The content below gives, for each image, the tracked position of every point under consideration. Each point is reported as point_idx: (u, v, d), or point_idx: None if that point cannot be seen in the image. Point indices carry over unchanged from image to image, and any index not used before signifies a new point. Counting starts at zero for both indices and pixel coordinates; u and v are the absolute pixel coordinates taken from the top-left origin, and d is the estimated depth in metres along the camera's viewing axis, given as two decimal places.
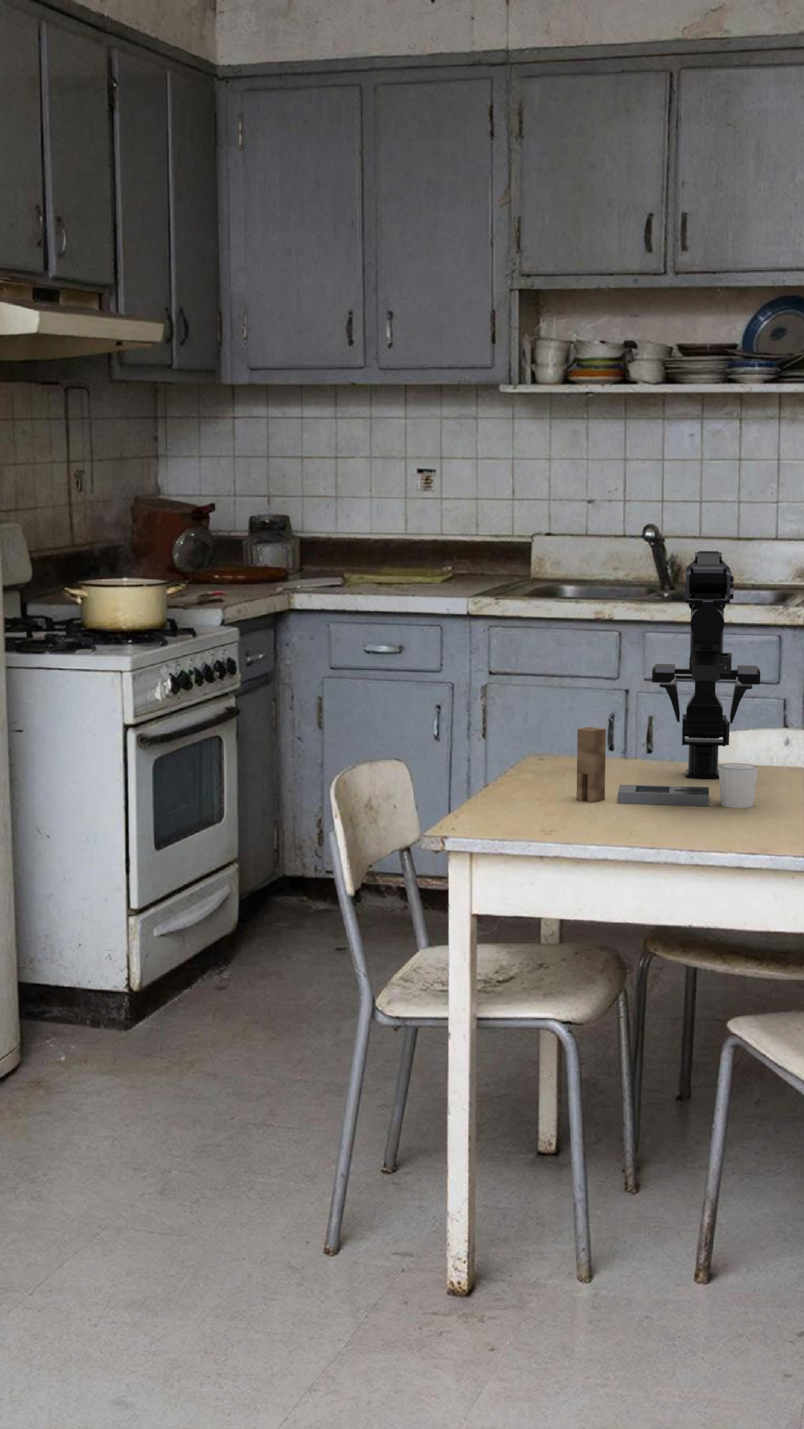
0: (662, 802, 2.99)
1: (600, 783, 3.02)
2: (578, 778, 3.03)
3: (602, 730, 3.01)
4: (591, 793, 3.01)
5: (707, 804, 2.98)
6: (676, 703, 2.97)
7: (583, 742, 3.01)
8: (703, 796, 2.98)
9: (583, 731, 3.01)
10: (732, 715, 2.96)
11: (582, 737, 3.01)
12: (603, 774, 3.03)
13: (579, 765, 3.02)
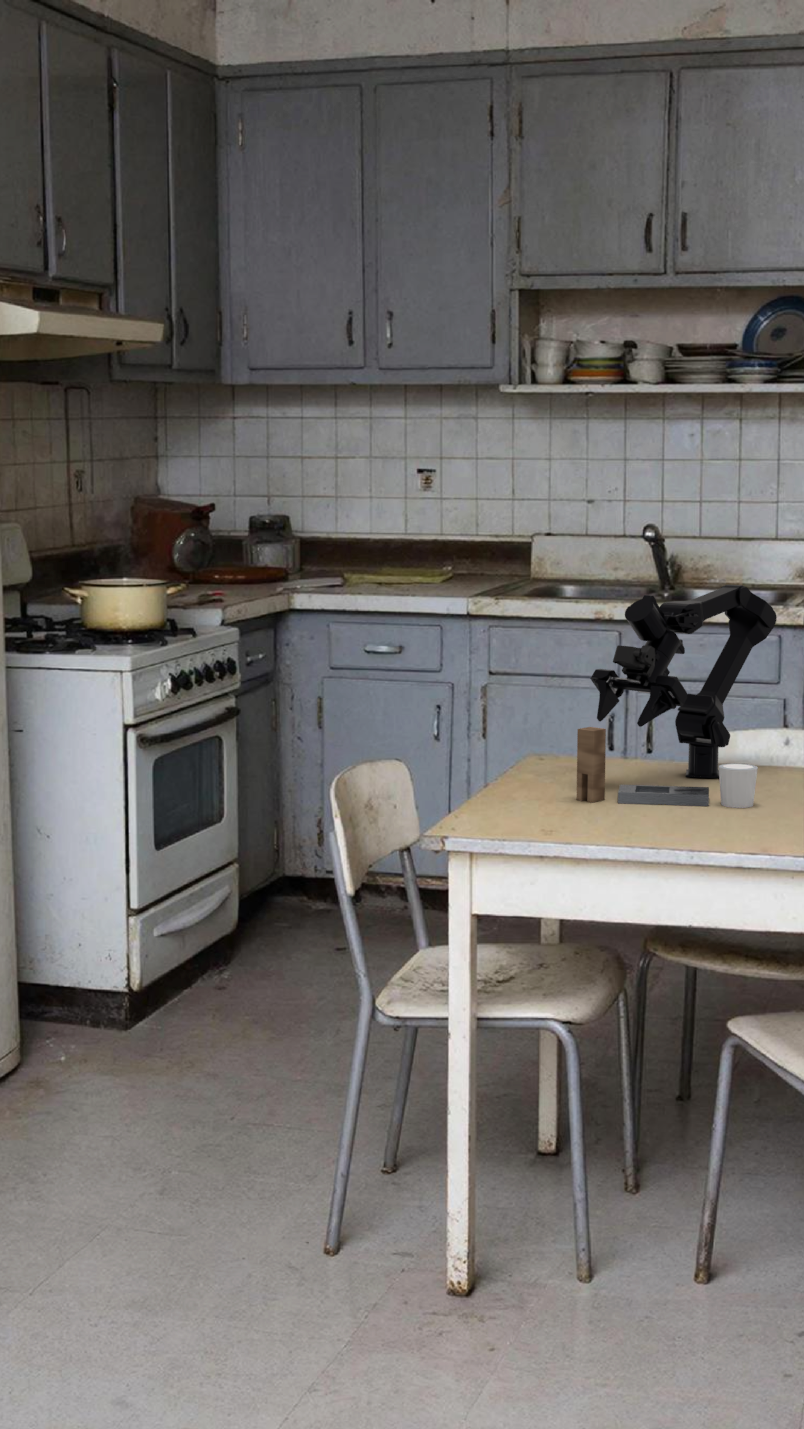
0: (662, 802, 2.99)
1: (600, 783, 3.02)
2: (578, 778, 3.03)
3: (602, 730, 3.01)
4: (591, 793, 3.01)
5: (707, 804, 2.98)
6: (602, 701, 3.11)
7: (583, 742, 3.01)
8: (703, 796, 2.98)
9: (583, 731, 3.01)
10: (641, 716, 3.04)
11: (582, 737, 3.01)
12: (603, 774, 3.03)
13: (579, 765, 3.02)
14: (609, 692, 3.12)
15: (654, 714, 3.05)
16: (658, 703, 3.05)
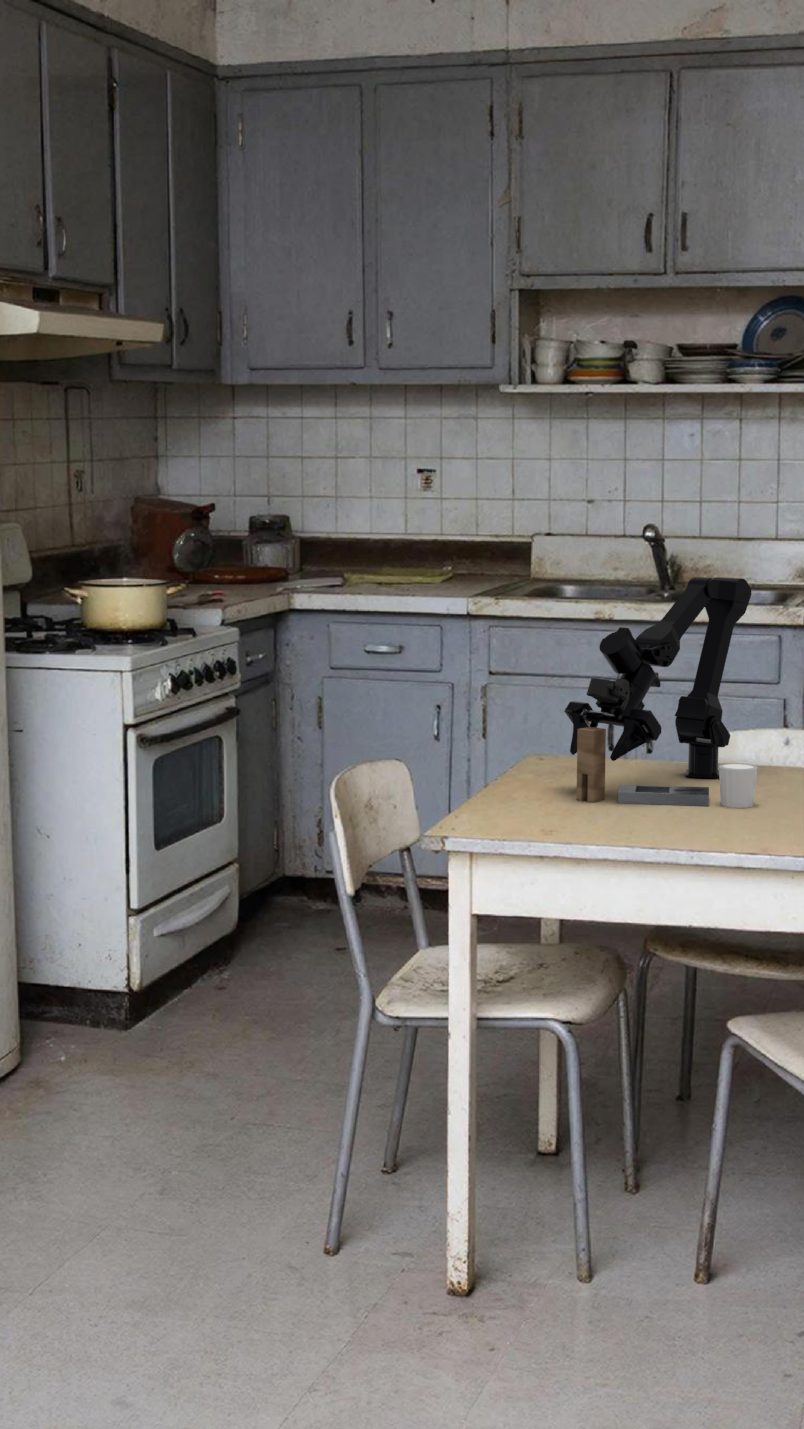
0: (662, 802, 2.99)
1: (600, 783, 3.02)
2: (578, 778, 3.03)
3: (602, 730, 3.01)
4: (591, 793, 3.01)
5: (707, 804, 2.98)
6: (575, 734, 3.07)
7: (583, 742, 3.01)
8: (703, 796, 2.98)
9: (583, 731, 3.01)
10: (614, 750, 2.99)
11: (582, 737, 3.01)
12: (603, 774, 3.03)
13: (579, 765, 3.02)
14: (583, 725, 3.08)
15: (627, 748, 3.00)
16: (632, 737, 3.01)
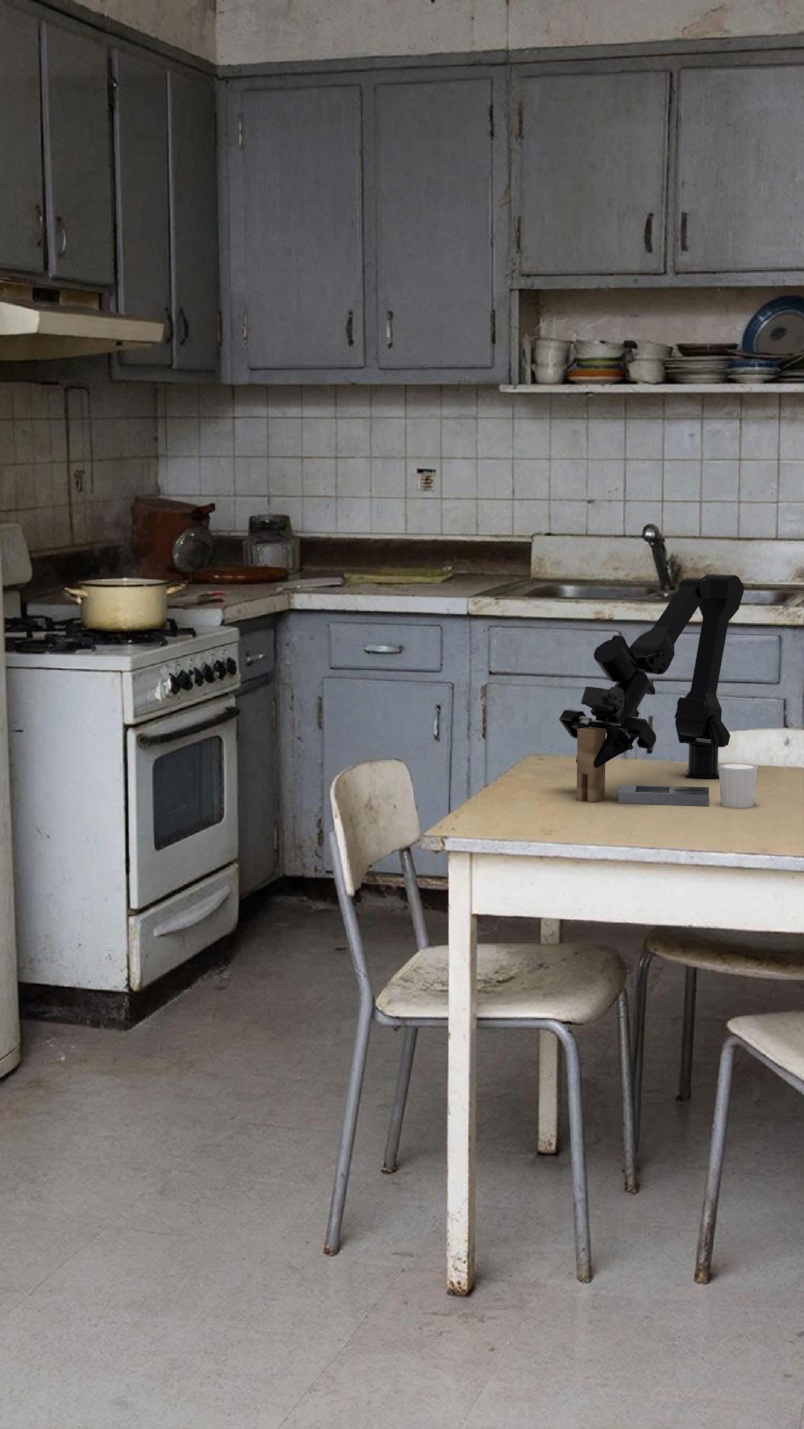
0: (662, 802, 2.99)
1: (600, 783, 3.02)
2: (578, 777, 3.03)
3: (602, 730, 3.01)
4: (591, 793, 3.01)
5: (707, 804, 2.98)
6: None
7: (583, 742, 3.01)
8: (703, 796, 2.98)
9: (583, 731, 3.01)
10: (597, 757, 3.00)
11: (582, 737, 3.01)
12: (603, 774, 3.03)
13: (579, 765, 3.02)
14: None
15: (611, 755, 3.01)
16: (615, 744, 3.02)
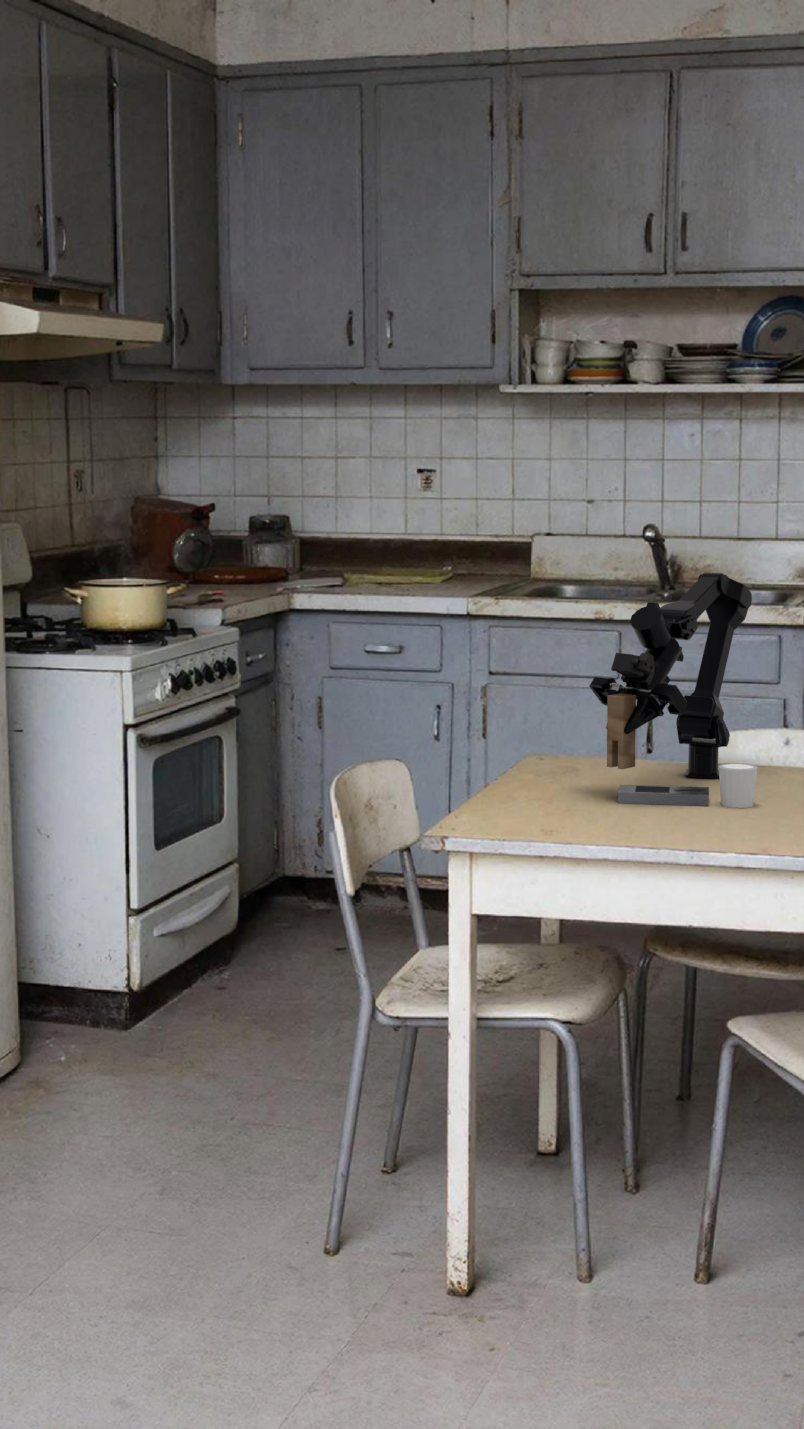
0: (662, 802, 2.99)
1: (630, 750, 3.01)
2: (609, 744, 3.02)
3: (632, 696, 3.00)
4: (621, 760, 3.00)
5: (707, 804, 2.98)
6: None
7: (613, 708, 3.00)
8: (703, 796, 2.98)
9: (613, 697, 3.00)
10: (627, 723, 3.00)
11: (612, 704, 3.00)
12: (633, 741, 3.02)
13: (609, 732, 3.02)
14: None
15: (641, 722, 3.01)
16: (646, 711, 3.01)
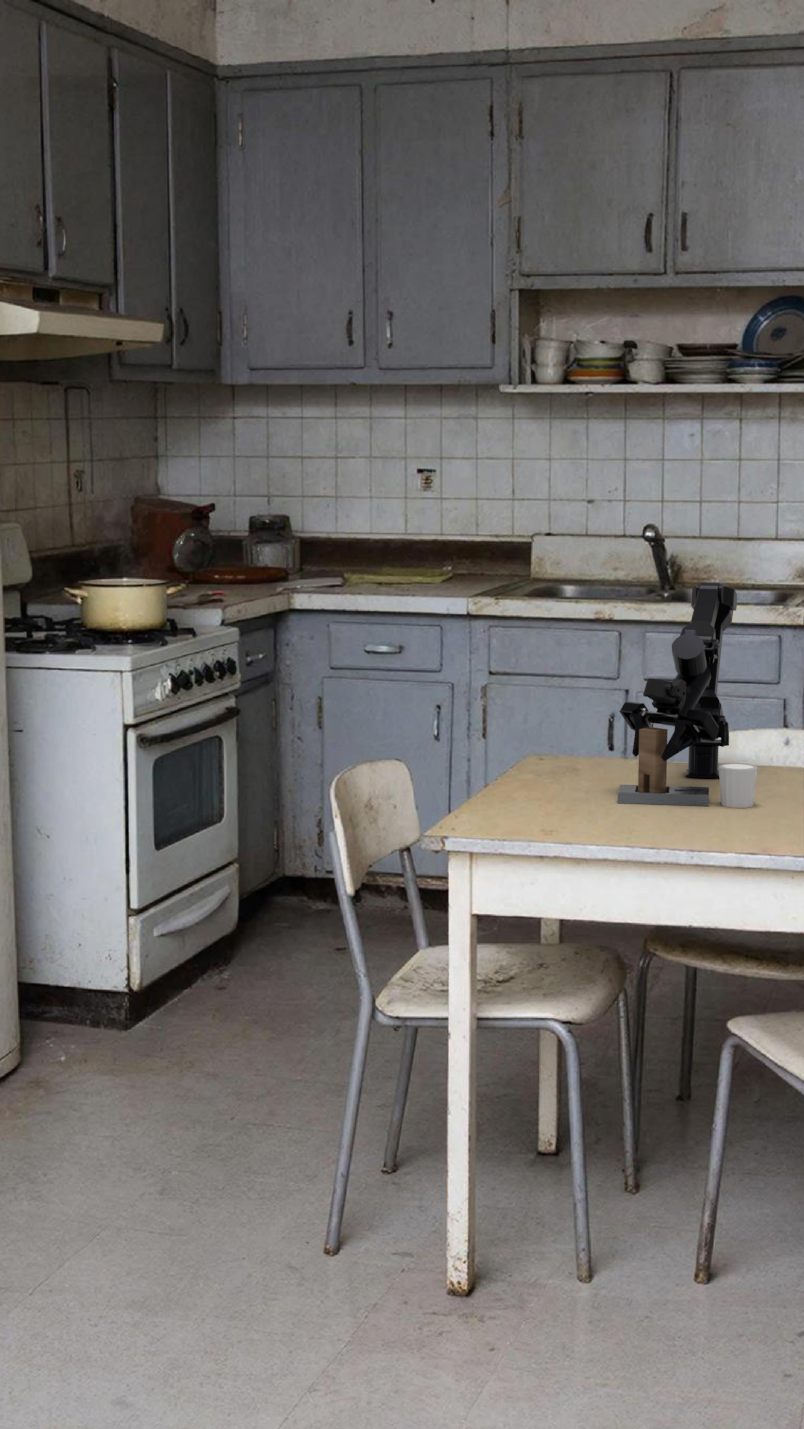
0: (662, 802, 2.99)
1: (662, 783, 3.02)
2: (640, 778, 3.02)
3: (664, 730, 3.01)
4: None
5: (707, 804, 2.98)
6: (638, 735, 3.04)
7: (644, 742, 3.01)
8: (703, 796, 2.98)
9: (645, 731, 3.00)
10: (665, 750, 2.99)
11: (644, 737, 3.01)
12: (665, 774, 3.02)
13: (641, 765, 3.02)
14: (645, 726, 3.06)
15: (679, 748, 3.00)
16: (683, 737, 3.00)
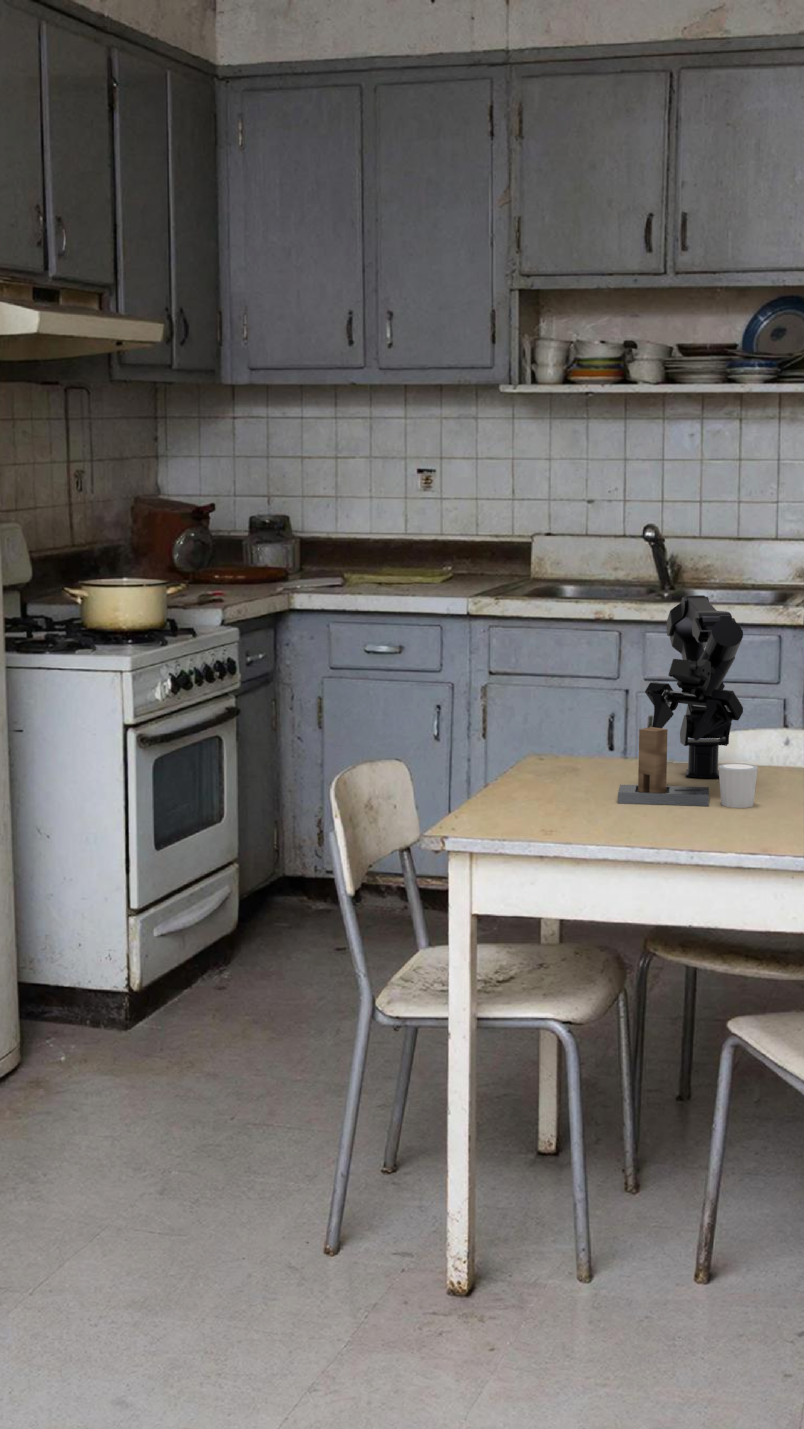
0: (662, 802, 2.99)
1: (662, 783, 3.02)
2: (640, 778, 3.02)
3: (664, 730, 3.01)
4: None
5: (707, 804, 2.98)
6: (657, 714, 3.11)
7: (645, 742, 3.01)
8: (703, 796, 2.98)
9: (645, 731, 3.00)
10: (697, 729, 3.03)
11: (644, 737, 3.01)
12: (665, 774, 3.02)
13: (641, 765, 3.02)
14: (664, 705, 3.12)
15: (710, 728, 3.04)
16: (714, 717, 3.05)
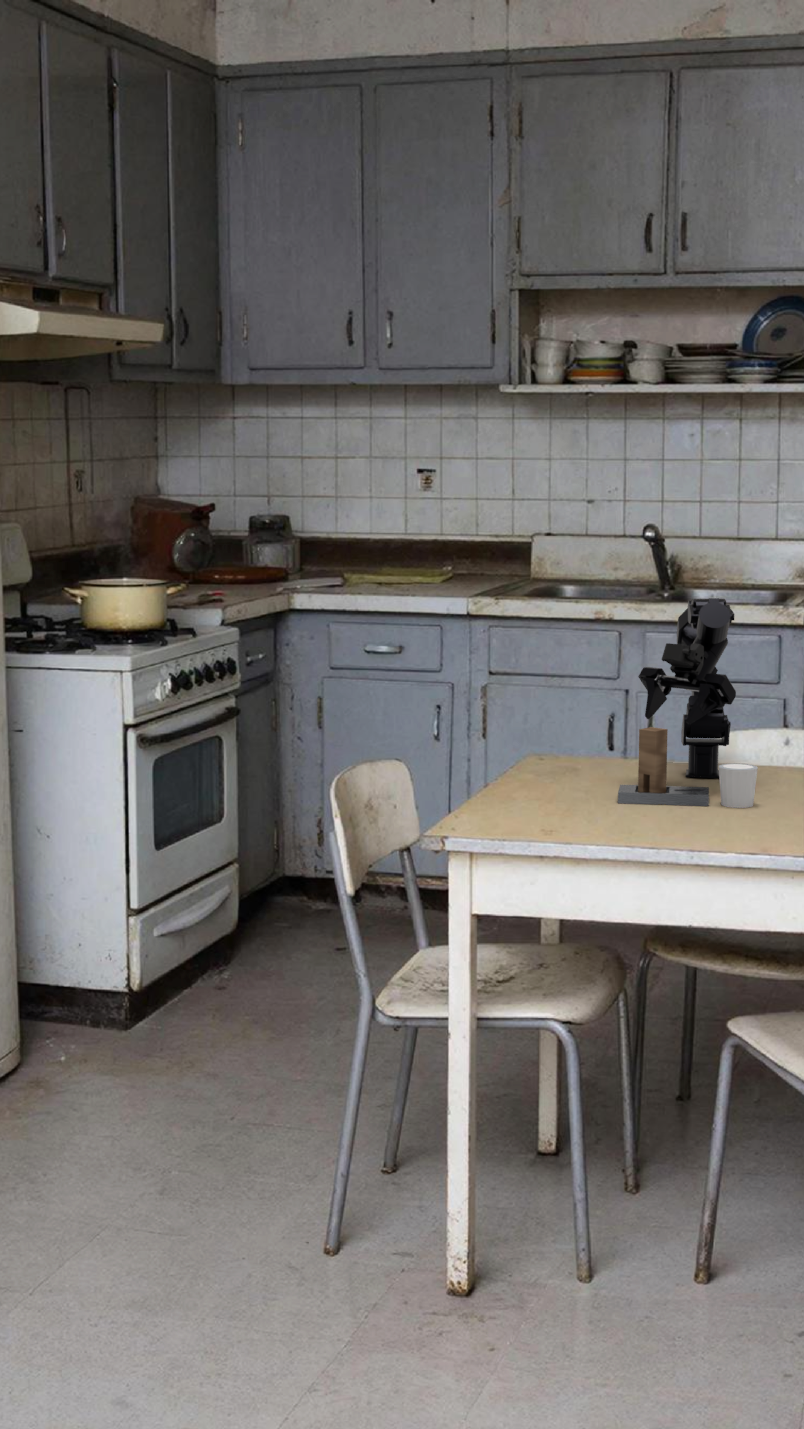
0: (662, 802, 2.99)
1: (662, 783, 3.02)
2: (640, 778, 3.02)
3: (664, 730, 3.01)
4: None
5: (707, 804, 2.98)
6: (650, 699, 3.12)
7: (645, 742, 3.01)
8: (703, 796, 2.98)
9: (645, 731, 3.00)
10: (690, 713, 3.05)
11: (644, 737, 3.01)
12: (665, 774, 3.02)
13: (641, 765, 3.02)
14: (657, 690, 3.13)
15: (703, 712, 3.06)
16: (707, 701, 3.06)
